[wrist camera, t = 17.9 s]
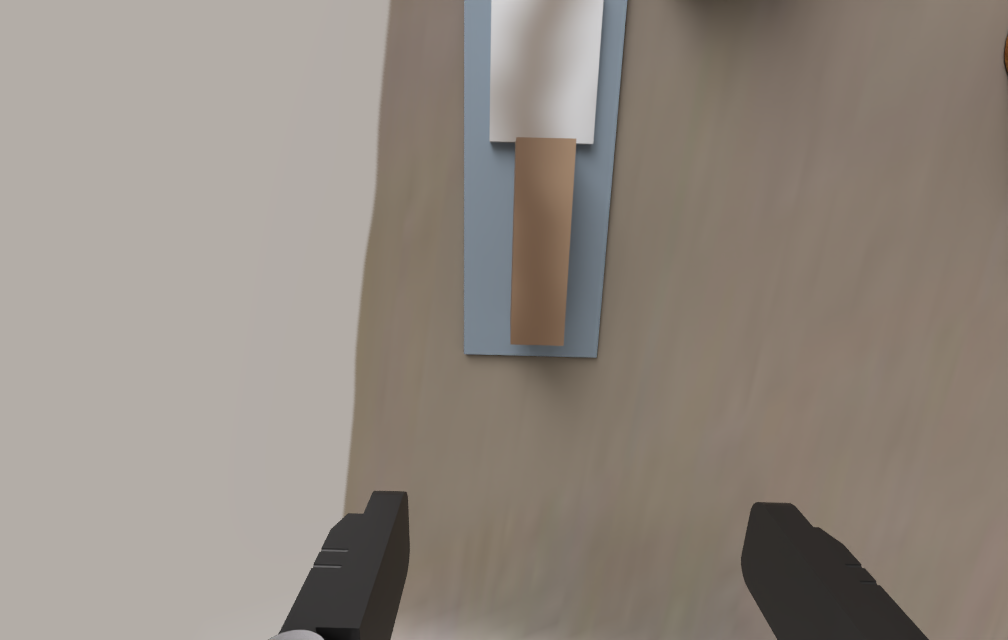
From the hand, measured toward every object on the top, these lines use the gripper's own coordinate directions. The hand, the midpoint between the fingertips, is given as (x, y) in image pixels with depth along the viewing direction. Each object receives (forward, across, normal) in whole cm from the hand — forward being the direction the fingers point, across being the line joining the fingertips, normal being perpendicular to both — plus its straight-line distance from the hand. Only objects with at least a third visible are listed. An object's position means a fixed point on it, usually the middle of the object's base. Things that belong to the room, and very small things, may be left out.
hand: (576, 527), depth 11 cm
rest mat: (+22, 0, -7) cm, 23 cm away
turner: (+22, 0, -8) cm, 23 cm away
